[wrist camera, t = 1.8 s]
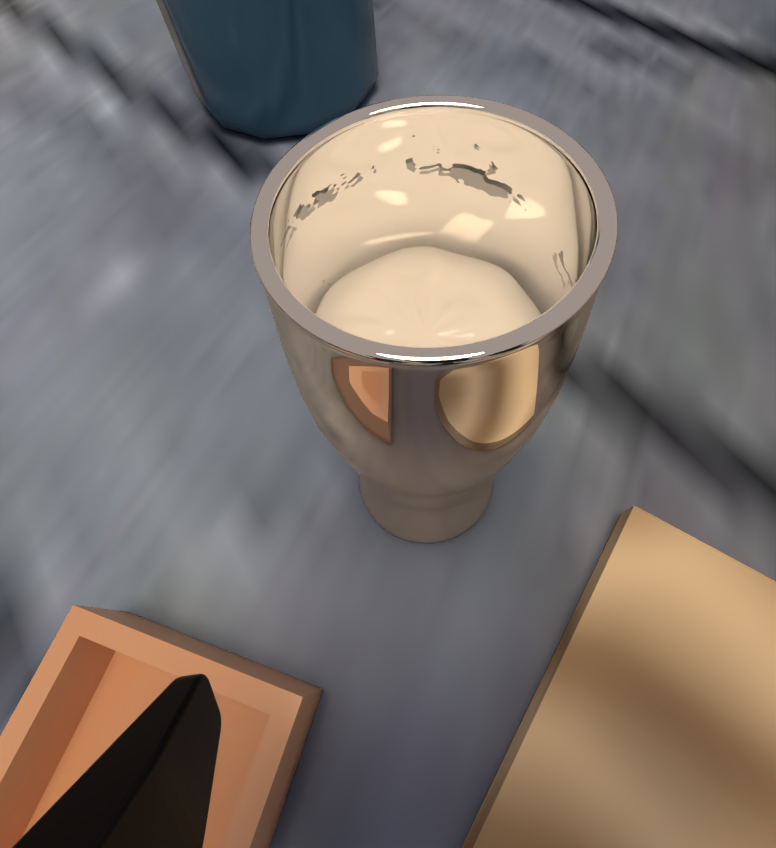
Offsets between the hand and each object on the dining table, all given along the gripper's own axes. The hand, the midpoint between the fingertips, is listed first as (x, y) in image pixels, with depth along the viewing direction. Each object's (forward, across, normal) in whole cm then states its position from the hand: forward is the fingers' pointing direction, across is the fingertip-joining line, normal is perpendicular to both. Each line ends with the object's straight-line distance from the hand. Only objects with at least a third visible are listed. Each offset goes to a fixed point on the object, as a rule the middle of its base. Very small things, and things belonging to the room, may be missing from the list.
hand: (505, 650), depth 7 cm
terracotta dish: (+7, +11, +11) cm, 18 cm away
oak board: (+6, -8, +13) cm, 16 cm away
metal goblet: (+14, 0, +4) cm, 15 cm away
